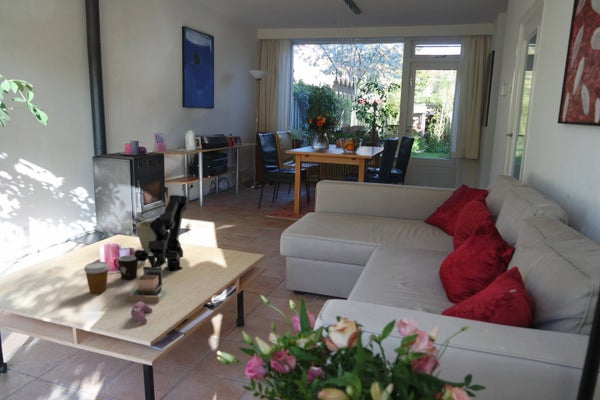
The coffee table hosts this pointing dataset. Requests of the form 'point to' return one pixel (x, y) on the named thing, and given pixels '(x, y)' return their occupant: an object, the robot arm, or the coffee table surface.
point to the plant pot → (145, 234)
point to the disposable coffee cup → (97, 277)
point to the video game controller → (140, 311)
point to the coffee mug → (127, 267)
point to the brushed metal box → (150, 281)
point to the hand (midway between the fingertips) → (153, 273)
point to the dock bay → (144, 297)
